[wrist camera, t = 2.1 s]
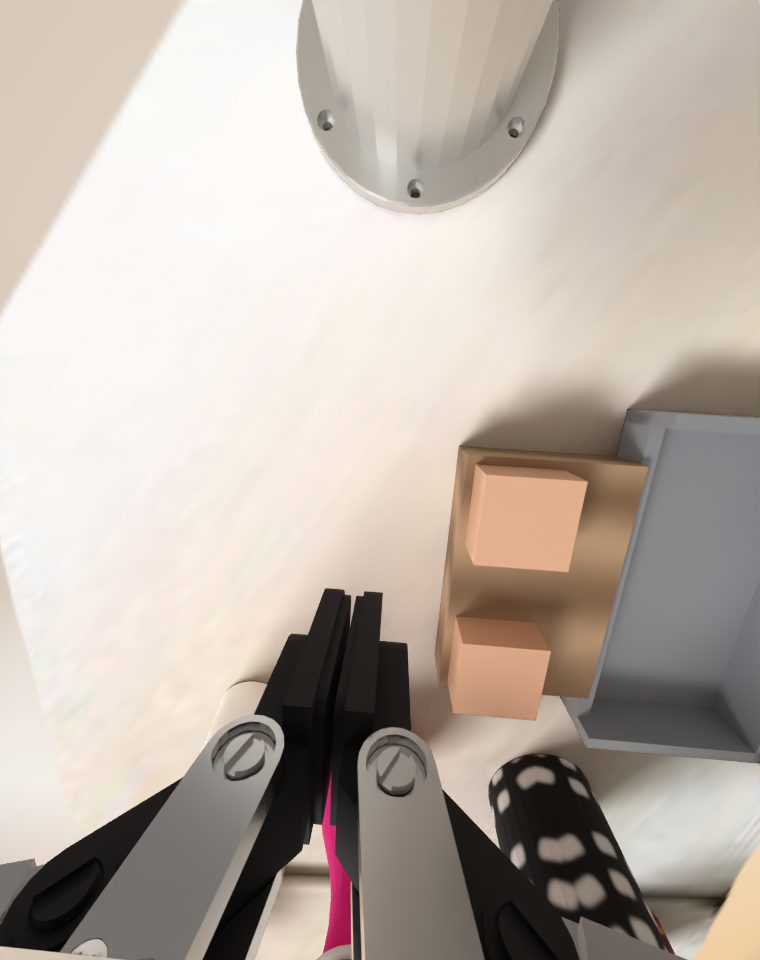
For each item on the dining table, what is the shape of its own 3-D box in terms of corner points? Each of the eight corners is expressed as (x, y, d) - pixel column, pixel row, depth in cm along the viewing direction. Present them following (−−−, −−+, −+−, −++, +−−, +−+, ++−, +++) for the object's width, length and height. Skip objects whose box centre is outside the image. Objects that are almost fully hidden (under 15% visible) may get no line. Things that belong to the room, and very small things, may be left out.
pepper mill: (340, 697, 29) (221, 1349, 9) (428, 715, 29) (493, 1401, 9) (326, 763, 30) (202, 1421, 11) (409, 780, 30) (429, 1464, 11)
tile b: (455, 616, 23) (462, 643, 20) (534, 622, 23) (551, 651, 20) (447, 680, 24) (453, 713, 22) (521, 686, 24) (536, 720, 21)
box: (627, 408, 22) (676, 413, 18) (820, 420, 21) (914, 428, 18) (560, 696, 27) (586, 747, 24) (712, 710, 27) (764, 764, 23)
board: (459, 446, 23) (467, 454, 20) (616, 456, 23) (648, 467, 20) (434, 653, 27) (439, 685, 24) (567, 664, 27) (588, 698, 24)
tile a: (475, 464, 20) (486, 474, 18) (564, 470, 20) (588, 481, 18) (465, 544, 21) (473, 564, 19) (548, 551, 21) (568, 572, 19)
